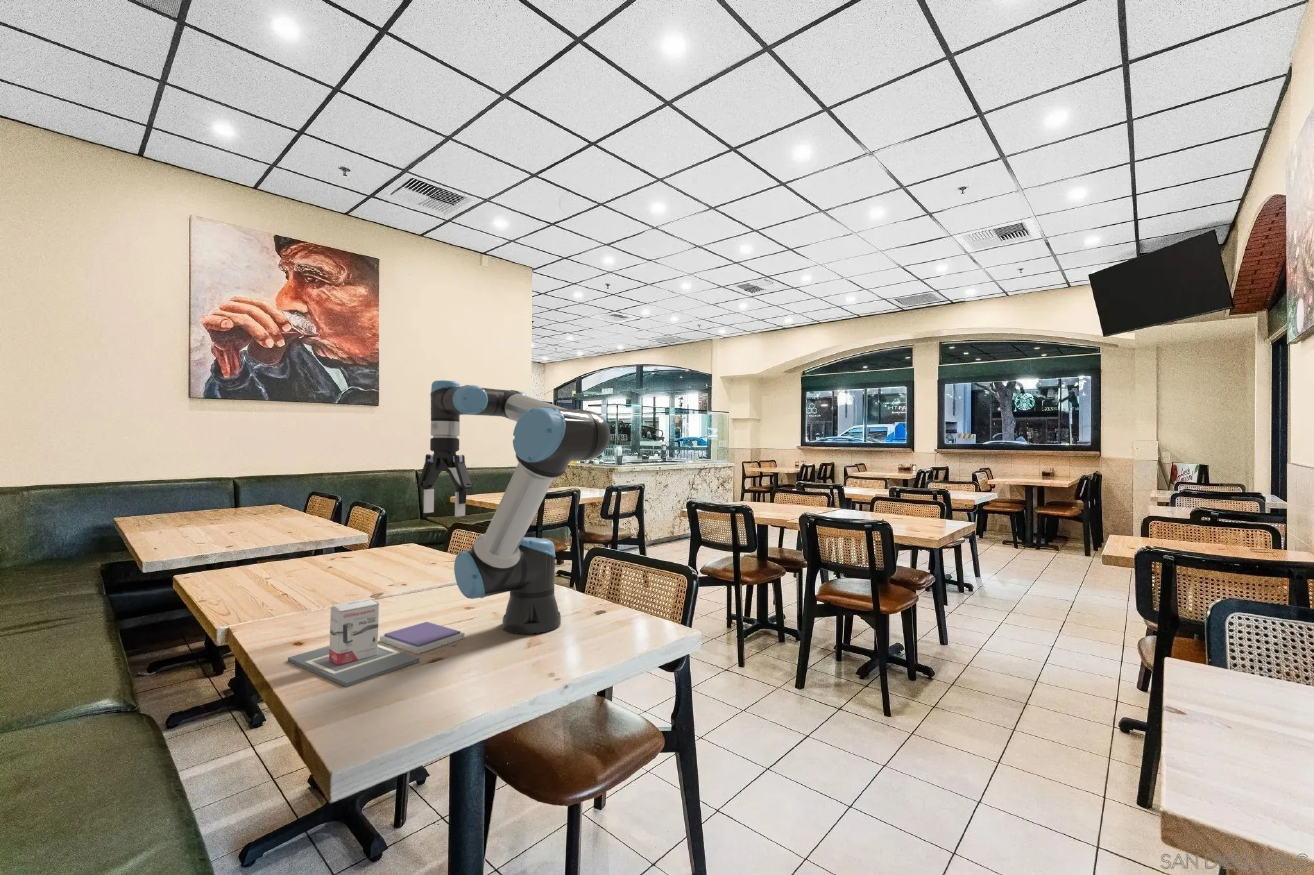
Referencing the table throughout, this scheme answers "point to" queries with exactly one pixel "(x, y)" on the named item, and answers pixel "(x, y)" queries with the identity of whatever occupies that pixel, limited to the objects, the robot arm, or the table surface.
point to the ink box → (353, 631)
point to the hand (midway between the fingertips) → (443, 514)
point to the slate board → (353, 664)
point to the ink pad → (421, 637)
